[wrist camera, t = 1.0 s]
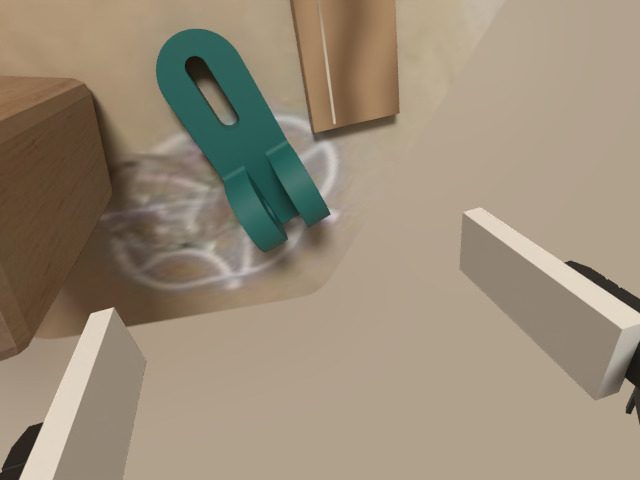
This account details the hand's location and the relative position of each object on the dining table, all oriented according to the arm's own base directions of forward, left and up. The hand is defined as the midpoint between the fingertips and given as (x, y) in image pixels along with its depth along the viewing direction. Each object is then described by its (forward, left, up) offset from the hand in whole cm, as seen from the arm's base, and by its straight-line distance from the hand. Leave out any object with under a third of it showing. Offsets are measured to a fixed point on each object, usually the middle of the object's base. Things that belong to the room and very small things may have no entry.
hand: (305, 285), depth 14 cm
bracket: (-1, 0, -24) cm, 24 cm away
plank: (+10, +9, -24) cm, 27 cm away
